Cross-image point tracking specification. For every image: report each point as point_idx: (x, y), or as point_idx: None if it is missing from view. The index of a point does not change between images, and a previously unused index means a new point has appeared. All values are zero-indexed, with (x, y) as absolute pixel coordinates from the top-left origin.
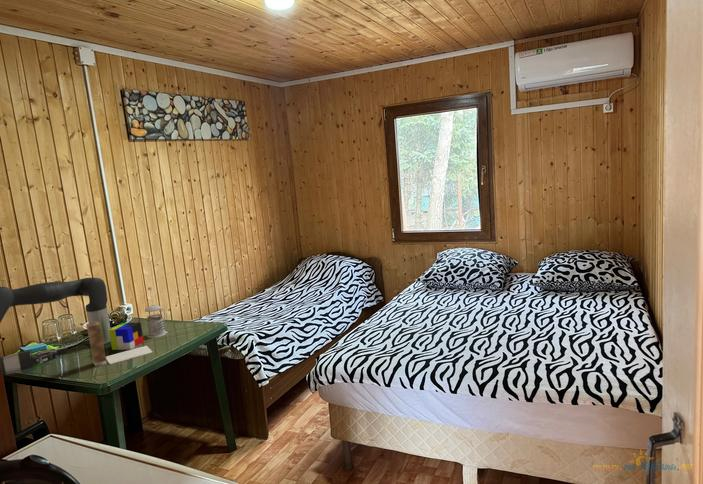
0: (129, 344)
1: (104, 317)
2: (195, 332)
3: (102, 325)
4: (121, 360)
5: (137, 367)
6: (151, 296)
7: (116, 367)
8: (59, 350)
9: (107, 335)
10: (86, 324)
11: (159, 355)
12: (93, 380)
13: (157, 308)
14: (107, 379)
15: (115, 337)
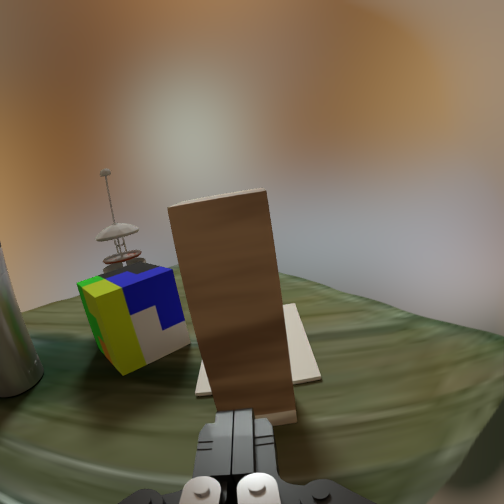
0: (185, 326)
1: (9, 280)
2: None
3: (13, 311)
4: (309, 350)
5: (409, 315)
6: (109, 196)
7: (373, 357)
8: (254, 456)
9: (33, 347)
10: (172, 208)
11: (334, 295)
12: (487, 389)
13: (135, 226)
14: (488, 353)
15: (128, 321)
